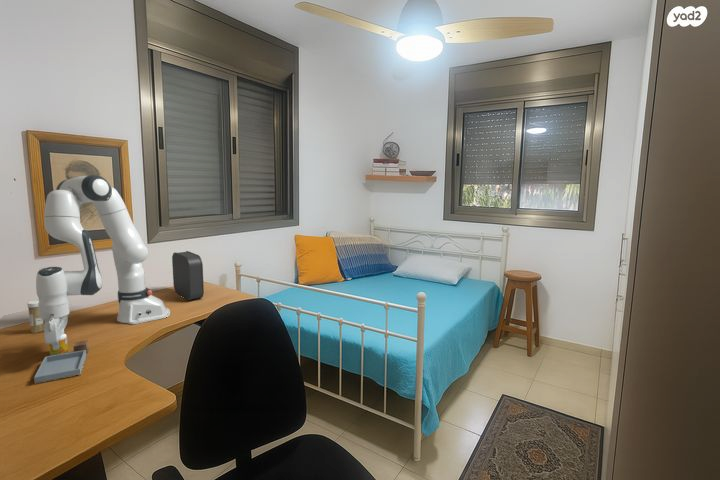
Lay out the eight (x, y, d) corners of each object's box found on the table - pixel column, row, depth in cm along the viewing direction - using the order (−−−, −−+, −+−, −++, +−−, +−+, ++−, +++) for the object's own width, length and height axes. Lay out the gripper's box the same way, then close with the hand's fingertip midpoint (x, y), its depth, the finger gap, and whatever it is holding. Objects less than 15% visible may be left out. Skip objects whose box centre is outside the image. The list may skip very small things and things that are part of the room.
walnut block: (88, 349, 145) (87, 340, 144) (87, 353, 141) (86, 344, 141) (75, 351, 143) (74, 342, 142) (74, 356, 139) (73, 346, 139)
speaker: (173, 292, 218) (171, 251, 214) (188, 289, 224) (186, 249, 220) (191, 302, 201) (189, 258, 197) (206, 299, 207) (205, 256, 203)
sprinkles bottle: (43, 332, 159) (40, 302, 157) (29, 334, 157) (26, 304, 155) (45, 328, 163) (42, 299, 161) (31, 330, 160) (28, 300, 158)
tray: (86, 355, 140) (85, 349, 139) (80, 375, 126) (79, 369, 126) (45, 362, 134) (45, 356, 133) (34, 384, 120) (34, 377, 120)
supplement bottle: (48, 358, 137) (45, 334, 135) (52, 352, 141) (49, 328, 140) (66, 355, 139) (64, 331, 138) (69, 350, 144) (67, 326, 142)
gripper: (59, 318, 130) (63, 355, 132) (69, 301, 148) (72, 334, 150) (36, 321, 127) (41, 358, 129) (49, 303, 144) (53, 336, 147)
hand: (58, 345), depth 140 cm, fingers closed on supplement bottle, 5 cm apart
